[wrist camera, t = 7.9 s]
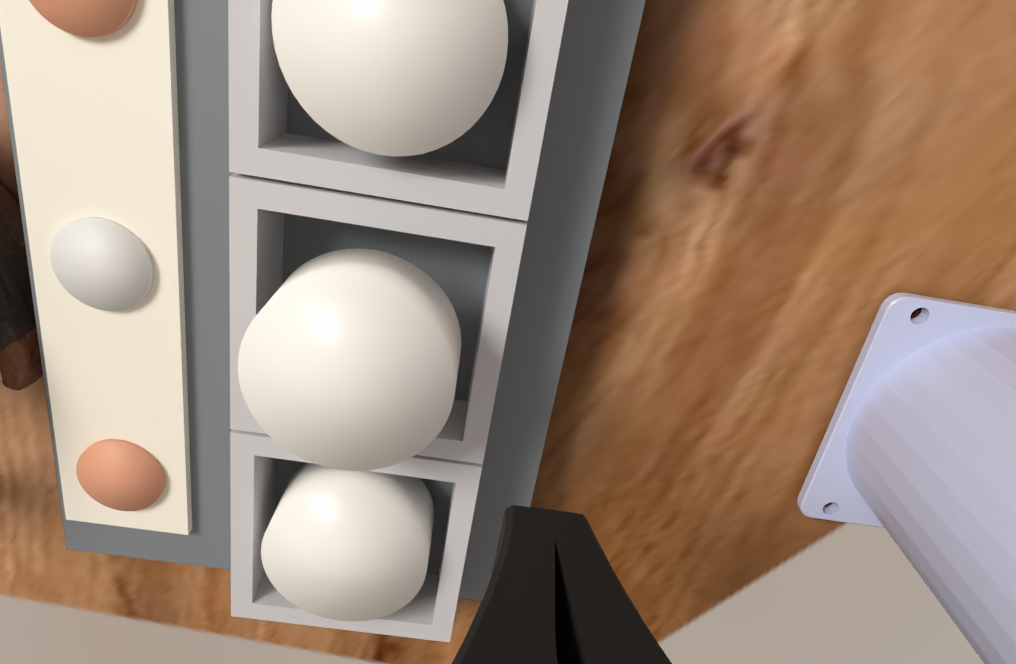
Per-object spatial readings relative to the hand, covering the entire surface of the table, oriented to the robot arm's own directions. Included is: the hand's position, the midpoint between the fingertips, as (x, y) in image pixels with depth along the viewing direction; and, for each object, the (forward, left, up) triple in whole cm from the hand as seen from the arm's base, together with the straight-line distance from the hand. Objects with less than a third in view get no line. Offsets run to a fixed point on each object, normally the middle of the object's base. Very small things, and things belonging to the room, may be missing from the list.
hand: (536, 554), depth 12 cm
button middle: (+4, -1, -5) cm, 7 cm away
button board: (+6, -1, -9) cm, 11 cm away
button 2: (+4, +5, -7) cm, 10 cm away
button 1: (+4, -7, -7) cm, 11 cm away
